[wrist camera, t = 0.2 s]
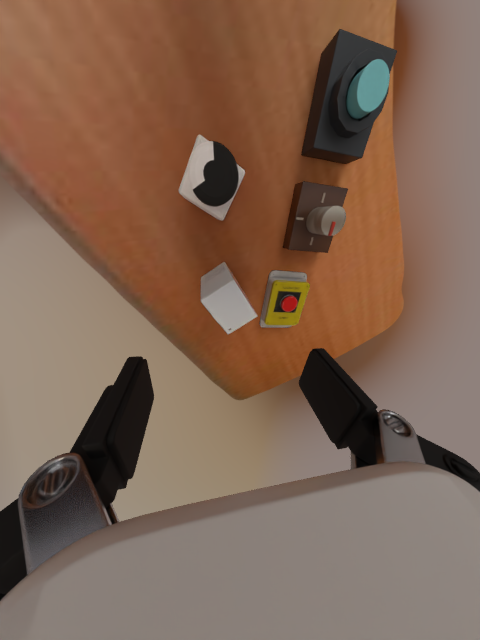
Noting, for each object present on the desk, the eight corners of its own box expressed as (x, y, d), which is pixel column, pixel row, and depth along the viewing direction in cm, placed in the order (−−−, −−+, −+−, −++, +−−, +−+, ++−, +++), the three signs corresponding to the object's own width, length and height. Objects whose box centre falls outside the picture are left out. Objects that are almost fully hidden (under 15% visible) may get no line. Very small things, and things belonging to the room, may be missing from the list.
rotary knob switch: (295, 183, 33) (303, 180, 30) (337, 190, 34) (348, 188, 32) (282, 247, 38) (288, 249, 35) (319, 250, 40) (328, 252, 37)
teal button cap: (354, 66, 23) (366, 53, 21) (381, 75, 24) (396, 64, 22) (341, 115, 25) (351, 107, 23) (367, 122, 26) (379, 115, 24)
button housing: (321, 53, 25) (351, 12, 20) (373, 71, 27) (412, 37, 22) (301, 155, 31) (320, 142, 26) (345, 164, 33) (372, 154, 27)
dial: (309, 205, 32) (327, 203, 28) (331, 208, 33) (351, 207, 29) (303, 232, 34) (318, 234, 30) (323, 234, 35) (341, 237, 31)
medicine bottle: (237, 179, 31) (255, 161, 21) (219, 220, 33) (226, 222, 23) (199, 150, 28) (197, 112, 18) (182, 197, 31) (172, 187, 20)
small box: (243, 290, 41) (258, 317, 30) (221, 304, 42) (228, 336, 31) (224, 260, 37) (234, 278, 26) (199, 276, 38) (199, 301, 27)
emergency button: (317, 278, 38) (297, 335, 46) (306, 272, 42) (290, 326, 49) (277, 275, 36) (263, 335, 43) (270, 269, 40) (258, 326, 47)
